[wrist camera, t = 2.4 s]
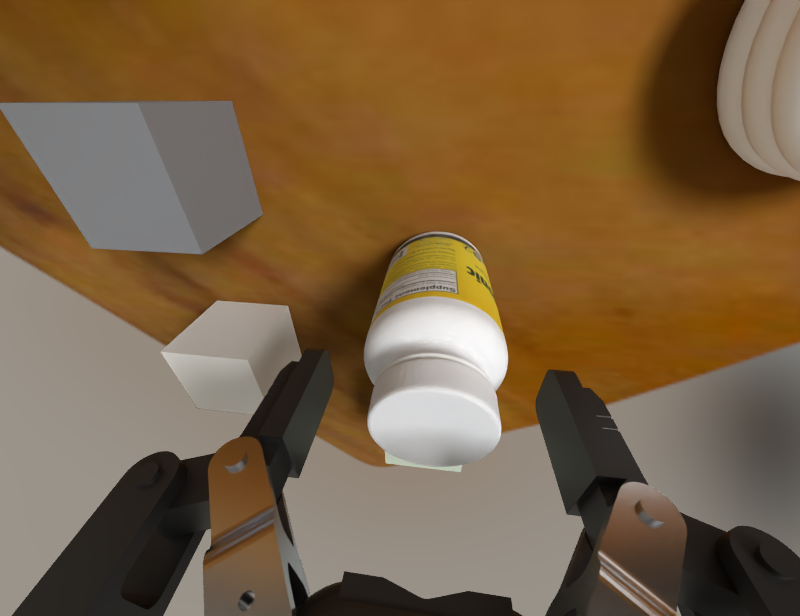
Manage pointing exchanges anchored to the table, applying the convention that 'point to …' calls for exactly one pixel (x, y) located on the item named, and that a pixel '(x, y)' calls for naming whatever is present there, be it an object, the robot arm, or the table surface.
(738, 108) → the coaster
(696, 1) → the table surface
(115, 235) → the medium grey block
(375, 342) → the supplement bottle
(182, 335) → the pale grey block
